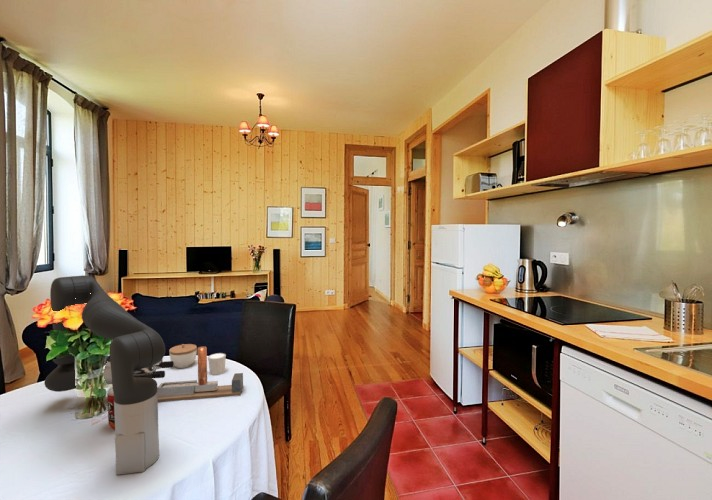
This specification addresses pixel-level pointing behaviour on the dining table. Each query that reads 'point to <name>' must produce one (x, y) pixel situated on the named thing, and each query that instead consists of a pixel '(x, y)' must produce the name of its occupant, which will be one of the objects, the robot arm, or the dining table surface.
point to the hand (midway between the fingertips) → (169, 368)
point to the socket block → (237, 382)
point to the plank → (204, 394)
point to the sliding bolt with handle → (201, 374)
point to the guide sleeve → (176, 389)
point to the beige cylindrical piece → (217, 363)
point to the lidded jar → (183, 355)
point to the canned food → (111, 408)
